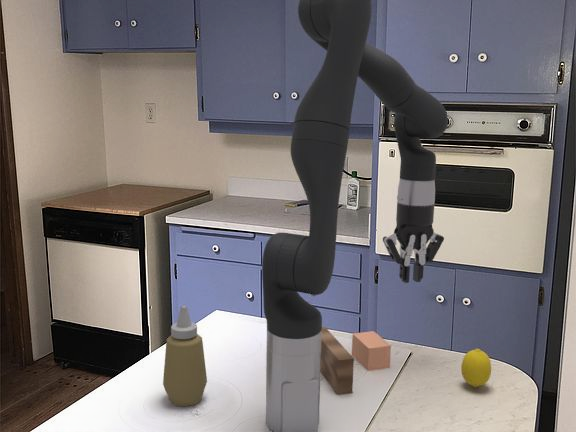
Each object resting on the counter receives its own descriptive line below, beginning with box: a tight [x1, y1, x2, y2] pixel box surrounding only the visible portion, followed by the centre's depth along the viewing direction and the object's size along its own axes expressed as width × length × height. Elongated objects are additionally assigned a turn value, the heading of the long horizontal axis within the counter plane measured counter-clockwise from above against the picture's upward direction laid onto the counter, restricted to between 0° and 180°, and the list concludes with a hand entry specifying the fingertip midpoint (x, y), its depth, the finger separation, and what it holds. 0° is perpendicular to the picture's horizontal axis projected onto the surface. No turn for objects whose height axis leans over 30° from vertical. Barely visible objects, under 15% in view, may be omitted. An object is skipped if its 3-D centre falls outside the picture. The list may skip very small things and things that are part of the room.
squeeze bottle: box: [162, 305, 208, 407], centre depth 111 cm, size 8×8×18 cm
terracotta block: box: [351, 330, 392, 371], centre depth 129 cm, size 8×5×5 cm, turn 19°
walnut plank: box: [320, 326, 355, 395], centre depth 122 cm, size 16×3×7 cm, turn 16°
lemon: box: [460, 348, 492, 388], centre depth 118 cm, size 6×6×8 cm
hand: (410, 281), depth 128 cm, fingers closed
